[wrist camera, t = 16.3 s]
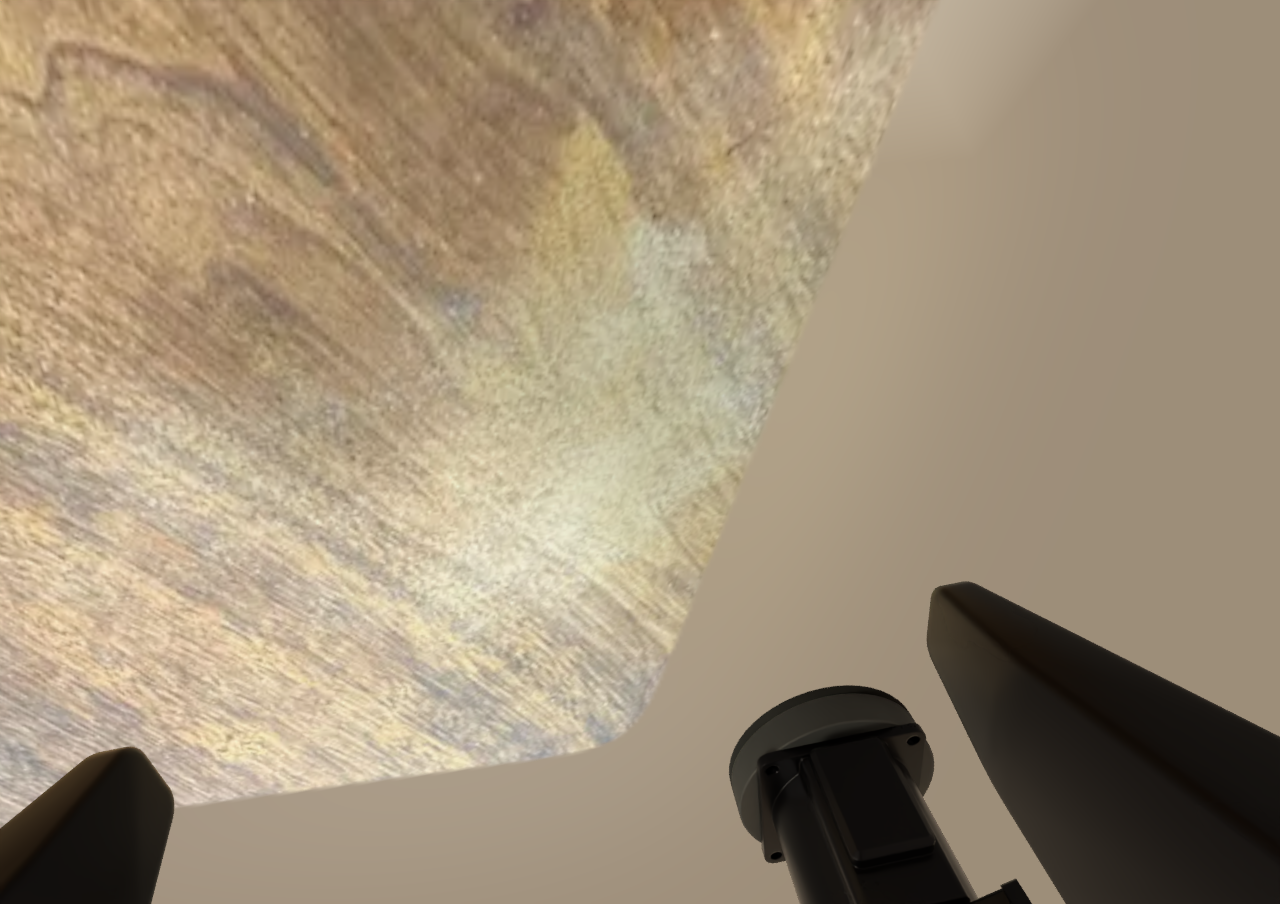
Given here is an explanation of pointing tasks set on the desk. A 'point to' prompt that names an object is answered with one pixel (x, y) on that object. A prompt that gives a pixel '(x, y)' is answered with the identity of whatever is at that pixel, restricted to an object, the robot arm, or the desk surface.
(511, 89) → the desk surface
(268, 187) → the desk surface
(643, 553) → the desk surface
